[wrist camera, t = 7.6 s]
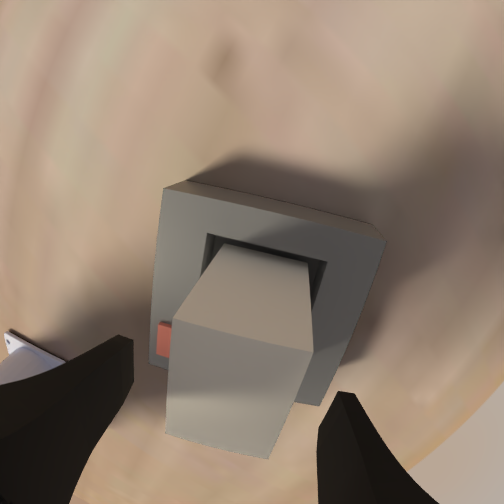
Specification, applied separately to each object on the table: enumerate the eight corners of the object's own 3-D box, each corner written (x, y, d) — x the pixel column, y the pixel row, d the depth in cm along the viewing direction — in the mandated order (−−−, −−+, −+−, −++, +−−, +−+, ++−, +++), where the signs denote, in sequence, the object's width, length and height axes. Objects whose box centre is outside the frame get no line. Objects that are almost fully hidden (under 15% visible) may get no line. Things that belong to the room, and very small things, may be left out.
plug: (306, 254, 16) (313, 352, 9) (280, 342, 18) (267, 459, 10) (229, 236, 16) (172, 317, 9) (213, 326, 18) (165, 433, 11)
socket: (371, 224, 16) (388, 243, 13) (317, 373, 20) (319, 410, 16) (185, 180, 17) (160, 189, 14) (166, 336, 20) (146, 366, 17)
